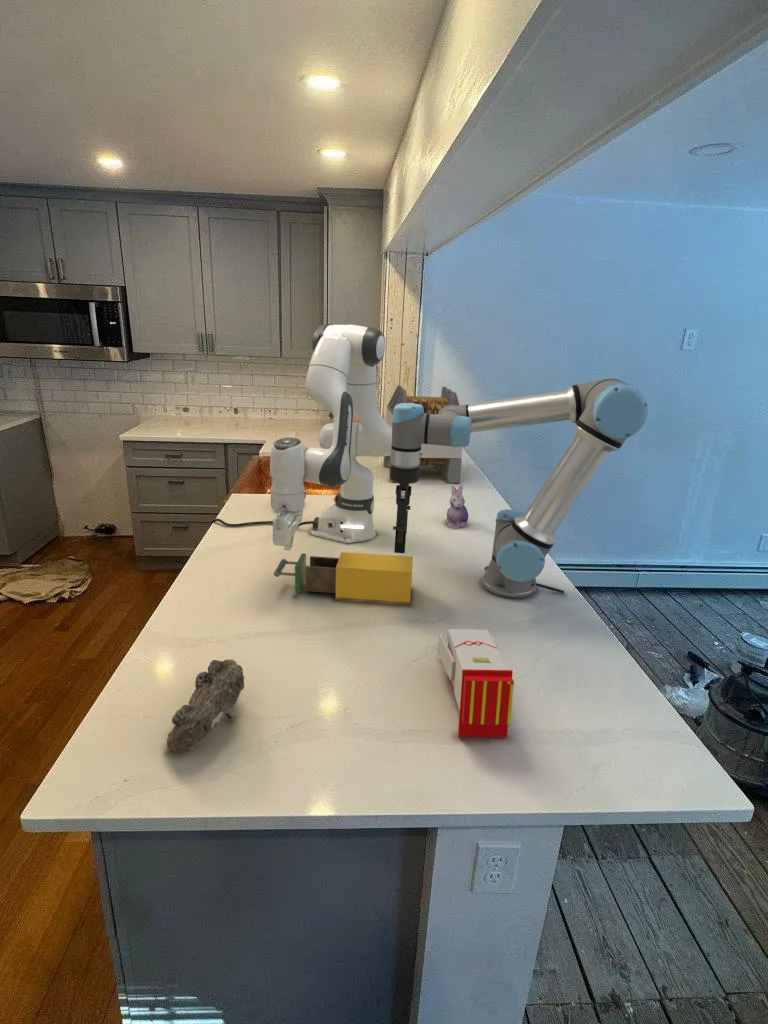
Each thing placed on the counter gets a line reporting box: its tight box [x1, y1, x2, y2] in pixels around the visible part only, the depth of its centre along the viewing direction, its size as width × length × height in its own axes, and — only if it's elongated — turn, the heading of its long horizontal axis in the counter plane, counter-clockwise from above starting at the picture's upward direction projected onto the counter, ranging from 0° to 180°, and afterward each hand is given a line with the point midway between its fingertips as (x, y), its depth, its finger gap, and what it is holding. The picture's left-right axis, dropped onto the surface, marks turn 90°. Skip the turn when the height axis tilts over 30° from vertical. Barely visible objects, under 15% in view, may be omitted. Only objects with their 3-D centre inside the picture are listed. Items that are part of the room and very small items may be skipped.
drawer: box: [273, 552, 339, 594], centre depth 156 cm, size 25×9×8 cm, turn 86°
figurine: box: [445, 484, 469, 529], centre depth 209 cm, size 9×10×15 cm
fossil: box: [166, 658, 245, 754], centre depth 106 cm, size 22×10×15 cm
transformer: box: [383, 384, 463, 484], centre depth 268 cm, size 34×33×41 cm
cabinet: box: [334, 551, 414, 606], centre depth 155 cm, size 20×10×10 cm, turn 86°
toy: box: [437, 628, 515, 738], centre depth 117 cm, size 12×13×30 cm
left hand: (288, 548), depth 154 cm, fingers closed
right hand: (400, 542), depth 151 cm, fingers open, 13 cm apart
